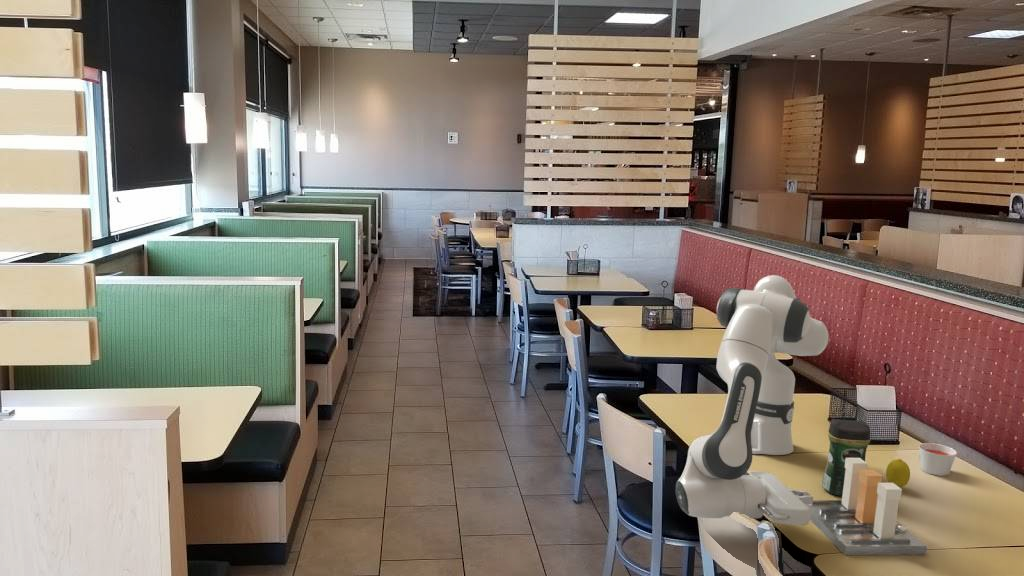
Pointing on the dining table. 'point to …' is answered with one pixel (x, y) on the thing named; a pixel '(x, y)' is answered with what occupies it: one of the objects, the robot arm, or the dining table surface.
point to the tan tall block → (867, 495)
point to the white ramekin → (936, 458)
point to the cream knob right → (886, 510)
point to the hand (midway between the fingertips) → (810, 497)
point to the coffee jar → (844, 451)
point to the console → (860, 532)
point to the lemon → (898, 473)
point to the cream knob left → (852, 481)
